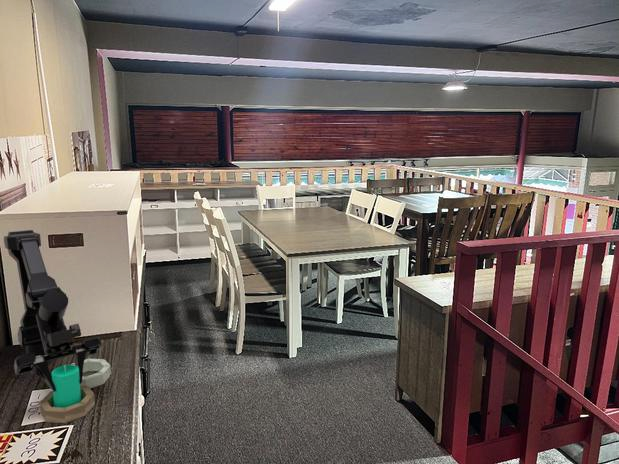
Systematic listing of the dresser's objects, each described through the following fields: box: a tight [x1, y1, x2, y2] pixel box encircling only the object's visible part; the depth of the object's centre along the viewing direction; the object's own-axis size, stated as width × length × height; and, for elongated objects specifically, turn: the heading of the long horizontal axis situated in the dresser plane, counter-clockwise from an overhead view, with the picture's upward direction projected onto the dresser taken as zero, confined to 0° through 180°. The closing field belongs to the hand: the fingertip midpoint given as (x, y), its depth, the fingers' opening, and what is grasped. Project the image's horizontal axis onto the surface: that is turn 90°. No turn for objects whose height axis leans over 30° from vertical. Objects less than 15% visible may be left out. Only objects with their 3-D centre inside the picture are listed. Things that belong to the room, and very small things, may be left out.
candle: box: [50, 363, 82, 408], centre depth 109 cm, size 6×6×12 cm
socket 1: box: [39, 386, 95, 424], centre depth 110 cm, size 11×11×3 cm
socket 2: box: [70, 358, 112, 389], centre depth 124 cm, size 11×11×3 cm
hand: (68, 387), depth 108 cm, fingers closed on candle, 5 cm apart
